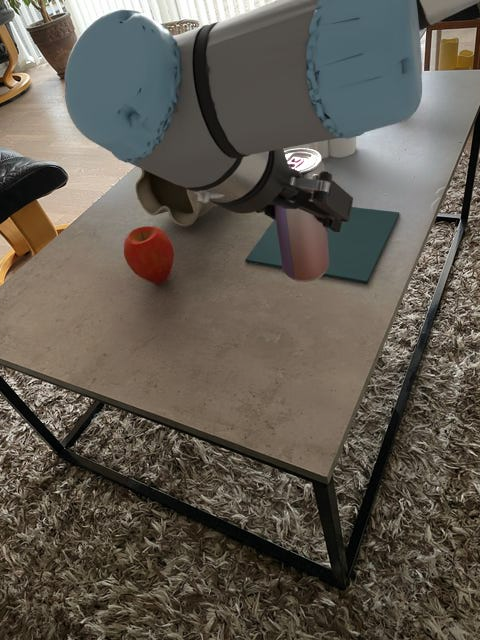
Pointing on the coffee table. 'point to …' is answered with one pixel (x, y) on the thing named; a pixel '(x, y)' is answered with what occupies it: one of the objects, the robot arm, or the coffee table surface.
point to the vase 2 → (334, 147)
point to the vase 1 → (169, 199)
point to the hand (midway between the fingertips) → (313, 217)
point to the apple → (149, 254)
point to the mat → (340, 245)
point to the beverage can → (302, 227)
